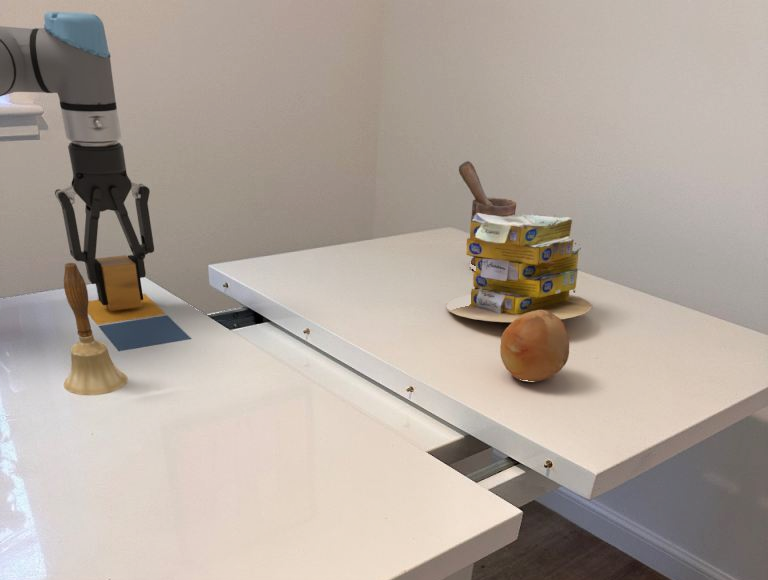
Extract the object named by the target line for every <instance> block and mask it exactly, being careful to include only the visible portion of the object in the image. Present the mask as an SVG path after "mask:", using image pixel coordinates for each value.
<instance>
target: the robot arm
mask: <svg viewBox="0 0 768 580" xmlns="http://www.w3.org/2000/svg"><path fill="white" fill-rule="evenodd" d="M43 18H44V19H43V20H44V25H43V27H40V28H37V27H35V28H27V27H14V26H2V25H0V97H3V96H6V95H11V94H13V93H44V94H57V96H58V99H59V106H60V110H61V111H60V112H61V115H62V121H63V126H64V127H63V128H64V132H65V138H66V139H67V140H68V141H70V142H69V143H68V145H67V148H68V153H69V159H70V164H71V171H72V180H71V185H70V186H68V187H66V188H63V189H60V188H59V189H57V188H56V190H55V191H54V195H55V198H56V199H57V201H58V203H59V205H60V207H61V210H62V216H63V221H64V227H65V232H66V238H67V243H68V249H69V254H70V256H71V257H72V258H73V259H74V260H75V261H77V262H83V263H84V265H85V270H86V275H87V279H88V281H89V282H90V284H92V285H95V288H96V292H97V297H98V299H97V300H99V301H100V302H101V303H102V304H103V305H108V302H107V296H106V291H105V285H104V280H103V274H102V268H101V263H100V262H99V261H98V260H97V259H96V257H97V243H98V231H99V230H98V228H99V219H100V217H101V213H102V212H105V211H107V210H108V211H114V213H115V214H116V217H117V219H118V222H119V225H120V227H121V229H122V232H123V234H124V237H125V239H126V242H127V244H128V246H129V249H130V251H131V253H132V254H130V255H127V257H128V258H130V259H131V260H132V261H133V262H134V263H135V265H136V272H137V279H138V285H139V292H140V299H141V300H143V294H144V293H143V288H142V281H141V279H143V278H146V274H147V272H146V267H145V258H146V255H148V254H153V253H154V252H155V244H154V238H153V229H152V225H151V218H150V210H149V205H148V203H149V197H150V191H151V190H150V188H149V187H148V186H146V185H145V184H144V183H135V182H132V181H131V179H130V177H129V175H128V173H127V165H126V159H125V153H124V151H125V150H124V146H123V145H122V144H121V143H120V142H119V141H120V140H121V139H122V134H121V125H120V120H119V114H118V107H117V101H116V95H115V87H114V79H113V71H112V62H111V53H110V51H109V47H108V41H107V36H106V31H105V26H104V23H103V20H102V19H101V18H100V17H99V16H98V15H96V14H95V13H90V12H89V13H87V12H73V11H72V12H71V11H70V12H69V11H68V12H67V11H47V12H45V14H44V16H43ZM130 191H131V196H132V197H133V198H134V201H135V209H136V215H137V223H138V229H139V234H140V235H139V236H140V241H141V243H140V241H139V239H138V236H137V234H136V231H135V228H134V227H133V223H132V221H131V219H130V216H129V212H128V210H127V208H126V204H125V201H126V199H127V198H128V196H129V194H130ZM76 195H77V196H78V197H79V198H80V199H81V200H82V201H83V202H84V203H85V208H84V211H85V223H84V237H83V251H82V247H81V246H82V245H81V241H80V235H79V230H78V229H79V228H78V225H77V224H78V223H77V218H76V213H75V208H74V206H73V205H74V204H75V201H76V199H75V196H76Z"/></svg>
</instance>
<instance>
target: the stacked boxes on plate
mask: <svg viewBox="0 0 768 580" xmlns="http://www.w3.org/2000/svg"><path fill="white" fill-rule="evenodd" d="M572 224H573V218H571V217H570V216H565V217H564V216H563V217H560V216H557V215H544V214H543V215H542V214H539V212H538V211H537V212H536V213H535V215H534V213H530V214H521V213H518V214H515V215H512V216H510V215H508V217H507V216H506V217H501V216H494V215H486V214H481V213H476V215H475V216H474V218H473V220H472V221H471V220H470V226H469V227H470V229H469V230H470V232H469V236H468V237H467V238H466V256H469V257H472V258H473V257H474V258H475V264H476V271H473V272H472V286H473V288H472V289H471V290H470V294H471V304H470V305H469V306H465V307H460V308H456V309H453V310H448V309H447V311H448V312H450V313H452V314H453V315H456V316H458V317H463V318H467V319H472V320H479V321H484V322H494V323H495V322H496V323H512V322H513V321H514V320H515V319H517V318H518V317H520V316H521V315H523V314H525V313H528V312H531V311H536V310H548V311H550V312H551V313H553V314H554V315H556V316H557V317H558V318H560V320H565V319H571V318H575V317H578V316H579V317H580V316H582V315H585V314H586V313H587V312H589V311H591V310H592V309H593V306H592V305H593V304H592V303H591V302H590V301H588V300H586V299H584V298H582V297H579V296H576V295H573V294H570V291H573V293H576V287H577V282H578V281H577V279H578V272H579V269H578V262H579V261H578V260H579V251H580V250H581V249H582V247H579V248H578V249H577V250H573V248H574V244H575V245H577V242H574V241H575V239H572V238H571V237H570V236H571V230H572ZM580 245H581V244H580V243H579V244H578V246H580Z"/></svg>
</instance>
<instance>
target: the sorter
mask: <svg viewBox="0 0 768 580" xmlns="http://www.w3.org/2000/svg"><path fill="white" fill-rule="evenodd" d="M141 305H142V307H136V308H129V309H122V310H116V311H110V310H109V308H108V307H107V306H106V305H103V304H102V303H101V302H100V301H99V299H95V300H88V316H89V317H90V318H91V319H92V321H93V322H94V323H95V324H96V325H97V326H98V328H99V329H100V330H101V331H102V333H103V334H104V336H105V337H106V338H107V339H108V340H109V341H110V343H111V345H113V347H114V348H115V349H116V350H117V351H118V352H124V351H129V350H135V349H141V348H147V347H153V346H159V345H164V344H170V343H176V342H182V341H188V340H192V337H191V336H189V335H188V333H186V332H185V331H184V330H183V329H182V328H181V327H180V325H178V324H177V323H176V322H175V321H174V320H173V319H172V318H171V317H170V316H169V315H167V314H166V312H165V311H163V309H161V307H159V305H157V304H156V303H155V301H153V300H152V299H151V298H150V297H149V296H148V295H147V294H146V293H143V300H141Z"/></svg>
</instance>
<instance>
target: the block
mask: <svg viewBox="0 0 768 580" xmlns="http://www.w3.org/2000/svg"><path fill="white" fill-rule="evenodd" d="M95 259H97V260H98V261H99V262H100V263H101V268H102V274H103V280H104V285H105V291H106V296H107V302H108V305H106V306H107V307H108V308H109V310H110V311H116V310H122V309H129V308H136V307H142V305H141V299H140V292H139V285H138V279H137V272H136V265H135V263H134V262H133V261H132V260H131V259H130V258H128V255H126V254H125V255H124V254H123V255H115V256H105V257H97V258H96V257H95Z"/></svg>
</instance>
